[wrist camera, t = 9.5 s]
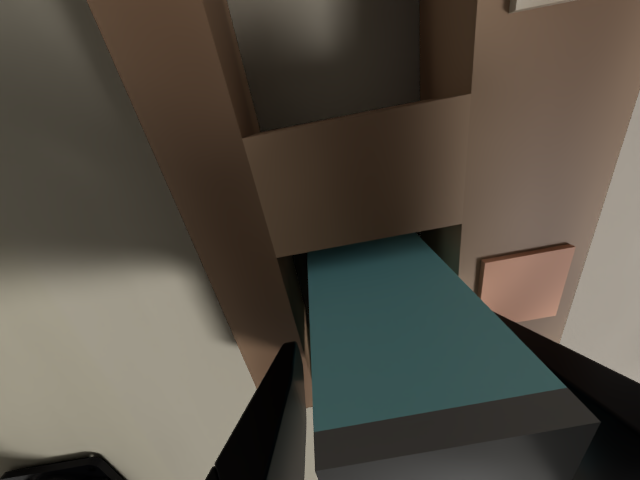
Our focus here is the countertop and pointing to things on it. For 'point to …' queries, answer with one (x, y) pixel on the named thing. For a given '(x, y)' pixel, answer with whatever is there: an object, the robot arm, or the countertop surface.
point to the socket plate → (391, 155)
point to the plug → (428, 376)
